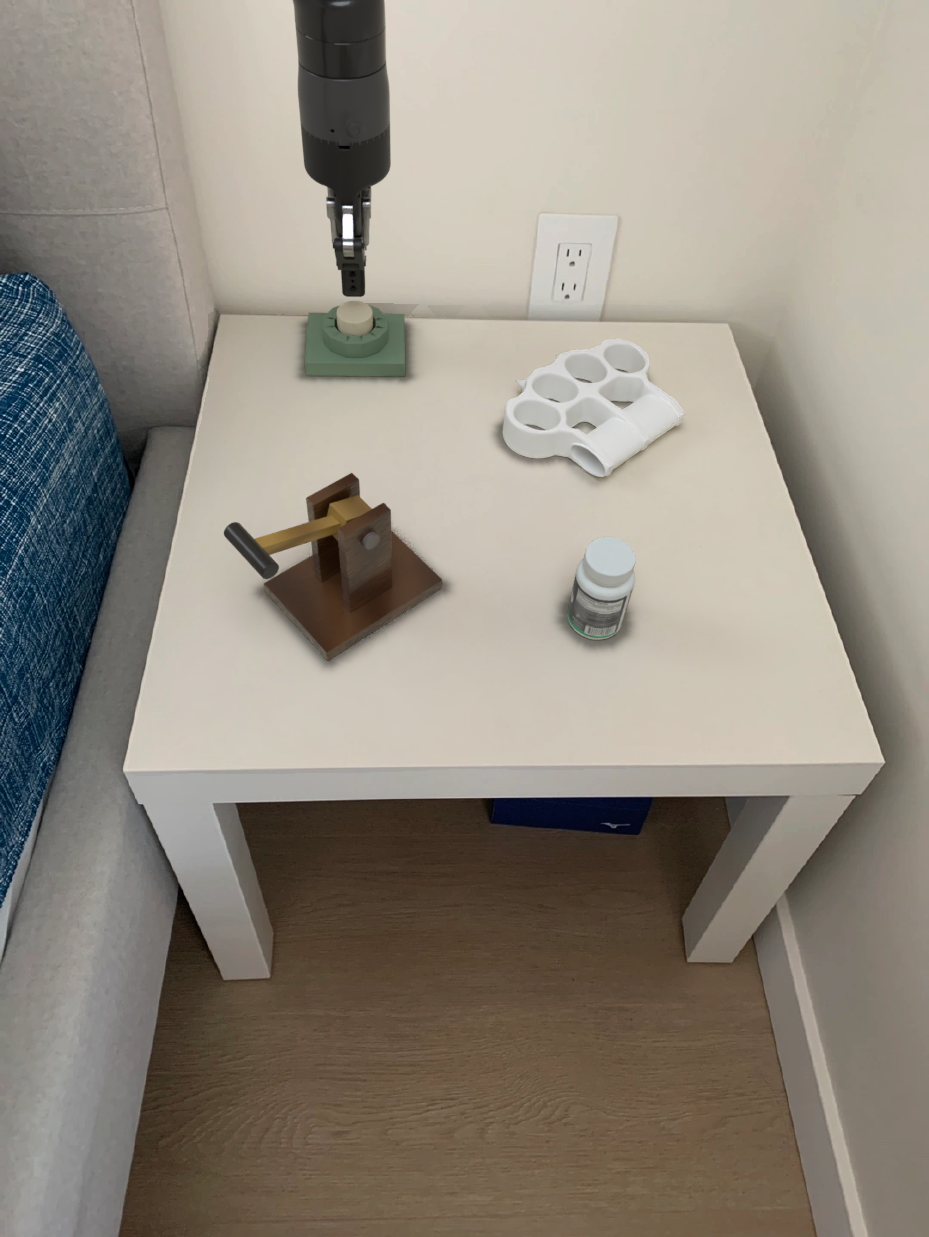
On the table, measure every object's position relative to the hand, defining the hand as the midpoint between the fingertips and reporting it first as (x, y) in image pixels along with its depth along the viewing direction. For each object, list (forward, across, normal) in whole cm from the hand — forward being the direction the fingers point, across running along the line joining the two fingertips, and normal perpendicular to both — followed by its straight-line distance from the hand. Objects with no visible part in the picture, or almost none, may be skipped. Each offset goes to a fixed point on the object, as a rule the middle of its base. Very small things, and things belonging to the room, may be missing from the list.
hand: (354, 292), depth 96 cm
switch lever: (-2, +34, -3) cm, 34 cm away
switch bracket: (+7, +31, 0) cm, 32 cm away
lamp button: (+4, 0, 0) cm, 4 cm away
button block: (+7, 0, 0) cm, 7 cm away
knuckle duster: (+7, +10, +23) cm, 26 cm away
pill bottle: (+7, +35, +21) cm, 41 cm away
